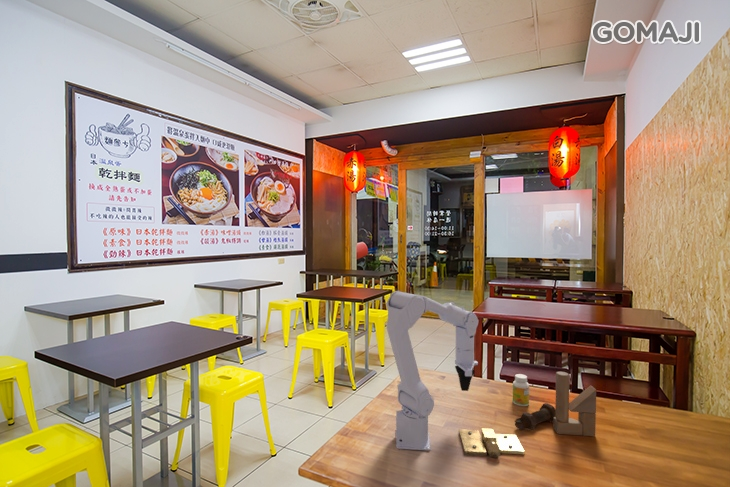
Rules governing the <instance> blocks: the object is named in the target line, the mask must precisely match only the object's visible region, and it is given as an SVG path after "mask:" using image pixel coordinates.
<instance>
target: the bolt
mask: <svg viewBox="0 0 730 487" xmlns="http://www.w3.org/2000/svg"><path fill="white" fill-rule="evenodd" d="M555 408H556V407H554V405H553V404H550V403H547V402H545V403H543V404H542V405H541V406H540V408H539V410H536V411H533V412H531V413H530V412H527V411H525V412H522V414H521V415H520V417H518V418H516V419H515V420H514V425H515V427H516V428H517V429H518V430H519V431H521V430H524V429H525V430H526V429H528V430H533V429H534V428H535V427H536V426H537V425H538V424H540V423H542V422H545V421H548V420H549V421H548V422H550V421H551V422H550V423H553V417H555Z"/></svg>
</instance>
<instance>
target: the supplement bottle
mask: <svg viewBox="0 0 730 487" xmlns="http://www.w3.org/2000/svg"><path fill="white" fill-rule="evenodd" d="M512 402H513V404H514V405H516V406H520V407H527V406H529V404H530V384H529V382H528V376H527V375H526V374H522V373H517V374H515V375H514V381H512Z"/></svg>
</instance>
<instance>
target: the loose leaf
mask: <svg viewBox="0 0 730 487" xmlns="http://www.w3.org/2000/svg"><path fill="white" fill-rule="evenodd" d="M481 438H482V441H483V444H484V446H485V449H487V448H486V445H485V442H486V440H487V439H489V438H493V439H495V440H496V442H497V444H498V446H499V449H500V451H501V454H511V455H525V454H526V453H525V450H524V448H523V446H522V444H521V442H520V440H519V439H518V437H517V435H516V434H506V433H505V434H503V433H495V431H494V428H482V427H481Z"/></svg>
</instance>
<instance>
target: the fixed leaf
mask: <svg viewBox="0 0 730 487" xmlns="http://www.w3.org/2000/svg"><path fill="white" fill-rule="evenodd" d="M479 430H480V429H479ZM479 430H478V429H477V430H476V429H465V428H464V429H460V428H459V429H458V434H459V437H460V441H461V445H462V448H463V453H464V455H468V456H481V457H482V456H485V457H486V456H487V455H489V456H490V457H491V458H493V459H497V458H499V457H500V456H501V454H502V453H501V451H500V449H499V446H498V444H497V442H496V440H495V439H493V438H489V439H487V440H486V442H485V445H486V448H485V446H484V444H483V441H482V435H481V432H480V431H479ZM487 453H488V454H487Z"/></svg>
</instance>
